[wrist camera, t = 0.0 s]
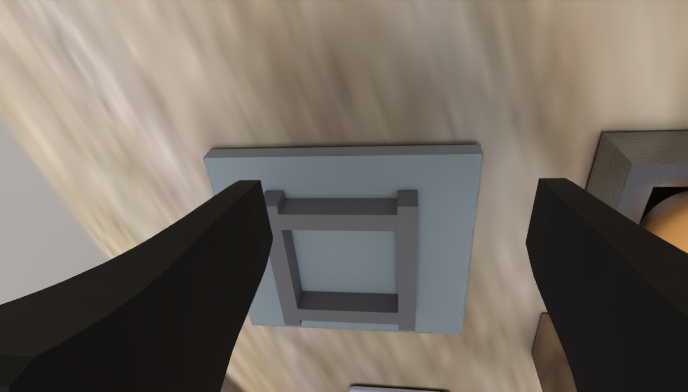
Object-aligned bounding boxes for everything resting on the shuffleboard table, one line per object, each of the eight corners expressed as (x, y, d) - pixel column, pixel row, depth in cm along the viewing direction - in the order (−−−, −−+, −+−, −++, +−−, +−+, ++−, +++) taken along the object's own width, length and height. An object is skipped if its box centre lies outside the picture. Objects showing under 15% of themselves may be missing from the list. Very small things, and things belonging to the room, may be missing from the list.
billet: (594, 356, 28) (635, 451, 23) (531, 353, 28) (558, 445, 23) (610, 316, 26) (660, 411, 21) (542, 314, 26) (574, 405, 21)
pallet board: (459, 322, 27) (464, 354, 25) (256, 313, 29) (245, 343, 27) (479, 144, 20) (488, 169, 18) (210, 149, 22) (191, 172, 20)
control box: (709, 250, 22) (748, 291, 20) (569, 248, 23) (590, 287, 21) (773, 129, 18) (831, 161, 16) (602, 132, 19) (632, 163, 17)
